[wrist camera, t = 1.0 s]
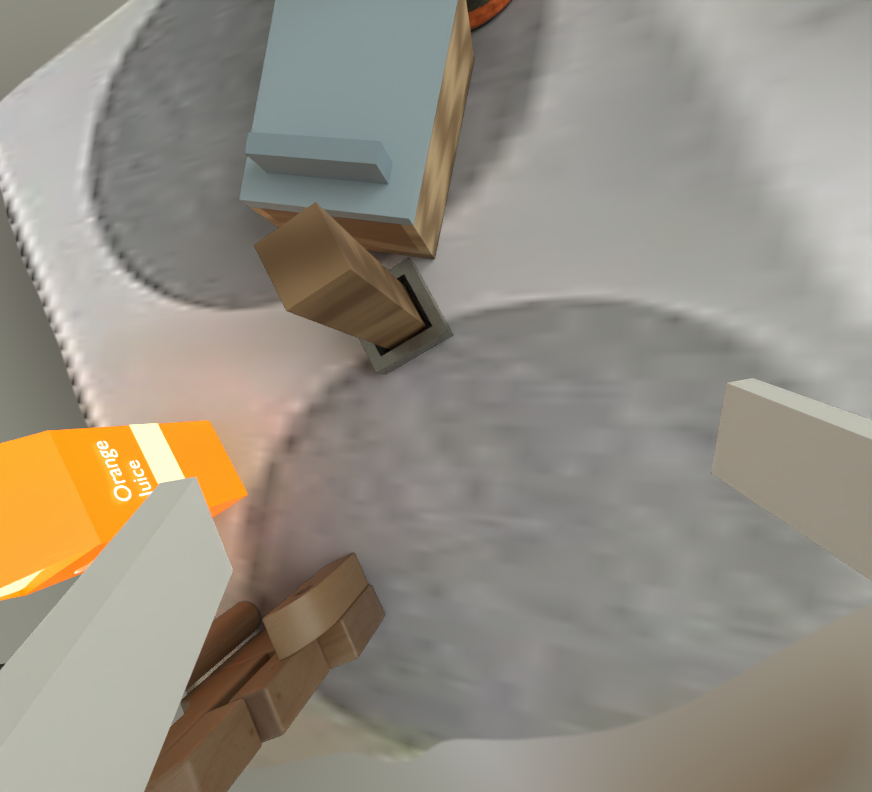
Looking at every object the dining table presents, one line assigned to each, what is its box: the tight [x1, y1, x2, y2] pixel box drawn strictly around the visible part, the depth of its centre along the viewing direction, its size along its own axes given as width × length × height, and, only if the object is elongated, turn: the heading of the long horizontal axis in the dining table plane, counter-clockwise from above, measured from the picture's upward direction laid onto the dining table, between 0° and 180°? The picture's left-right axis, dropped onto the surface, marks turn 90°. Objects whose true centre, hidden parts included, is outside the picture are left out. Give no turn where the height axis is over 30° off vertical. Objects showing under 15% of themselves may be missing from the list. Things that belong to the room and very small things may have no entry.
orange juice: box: [0, 421, 248, 600], centre depth 32 cm, size 8×9×20 cm
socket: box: [359, 258, 453, 374], centre depth 36 cm, size 7×7×2 cm
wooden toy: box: [144, 553, 385, 792], centre depth 27 cm, size 16×7×25 cm, turn 117°
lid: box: [239, 0, 458, 226], centre depth 29 cm, size 18×14×4 cm
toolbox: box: [250, 0, 475, 259], centre depth 34 cm, size 18×14×7 cm
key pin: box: [254, 202, 429, 350], centre depth 29 cm, size 4×4×17 cm
